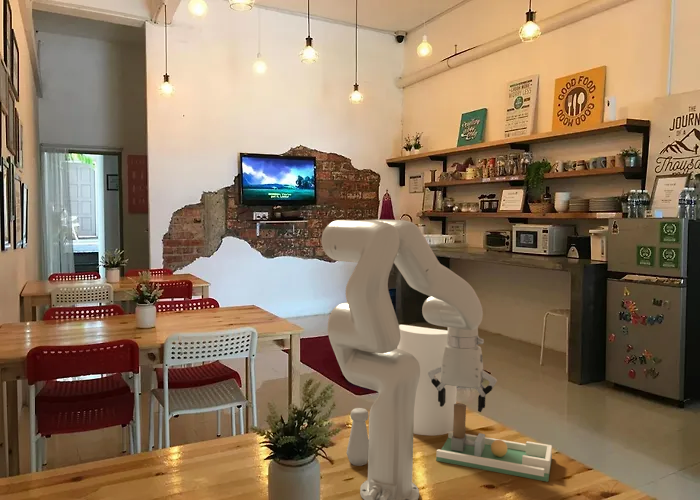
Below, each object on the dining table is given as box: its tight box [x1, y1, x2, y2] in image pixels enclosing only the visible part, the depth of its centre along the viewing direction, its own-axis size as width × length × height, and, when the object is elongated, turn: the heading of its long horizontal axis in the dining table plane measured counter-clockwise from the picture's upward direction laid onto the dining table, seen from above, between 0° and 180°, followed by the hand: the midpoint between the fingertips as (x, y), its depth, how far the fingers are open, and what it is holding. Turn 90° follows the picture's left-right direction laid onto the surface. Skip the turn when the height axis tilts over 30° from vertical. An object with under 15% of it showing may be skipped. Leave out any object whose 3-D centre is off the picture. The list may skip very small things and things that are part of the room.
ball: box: [491, 439, 508, 457], centre depth 140 cm, size 4×4×4 cm
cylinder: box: [396, 324, 458, 436], centre depth 163 cm, size 17×17×28 cm
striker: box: [451, 402, 486, 457], centre depth 142 cm, size 6×8×11 cm
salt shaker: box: [346, 407, 369, 467], centre depth 137 cm, size 6×6×13 cm
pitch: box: [435, 431, 553, 483], centre depth 140 cm, size 14×26×4 cm, turn 67°
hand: (461, 407), depth 144 cm, fingers open, 9 cm apart
